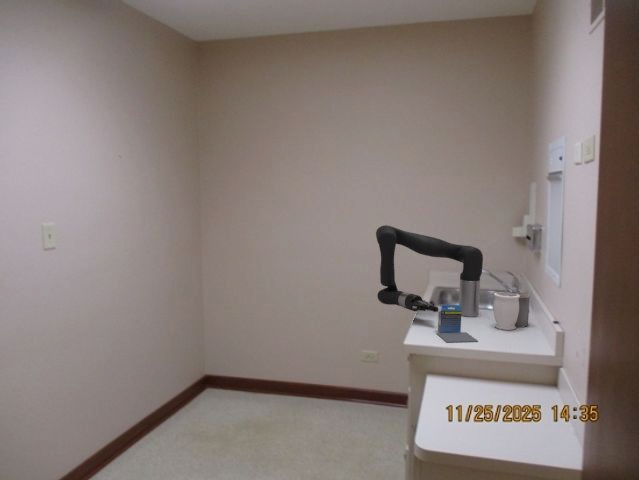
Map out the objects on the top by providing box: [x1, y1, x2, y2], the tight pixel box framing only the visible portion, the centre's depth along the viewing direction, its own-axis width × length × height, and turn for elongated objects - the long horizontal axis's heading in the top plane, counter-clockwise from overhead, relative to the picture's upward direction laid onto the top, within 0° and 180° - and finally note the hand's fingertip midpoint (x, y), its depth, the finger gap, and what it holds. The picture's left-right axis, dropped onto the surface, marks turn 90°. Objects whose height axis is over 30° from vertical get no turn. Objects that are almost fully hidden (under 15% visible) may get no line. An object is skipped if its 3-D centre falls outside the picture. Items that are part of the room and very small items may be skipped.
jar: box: [493, 291, 520, 331], centre depth 208 cm, size 11×10×15 cm
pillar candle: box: [510, 291, 530, 328], centre depth 213 cm, size 10×10×15 cm
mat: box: [436, 331, 479, 344], centre depth 194 cm, size 12×13×1 cm
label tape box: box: [437, 304, 462, 333], centre depth 201 cm, size 9×4×12 cm, turn 92°
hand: (436, 309), depth 207 cm, fingers closed
